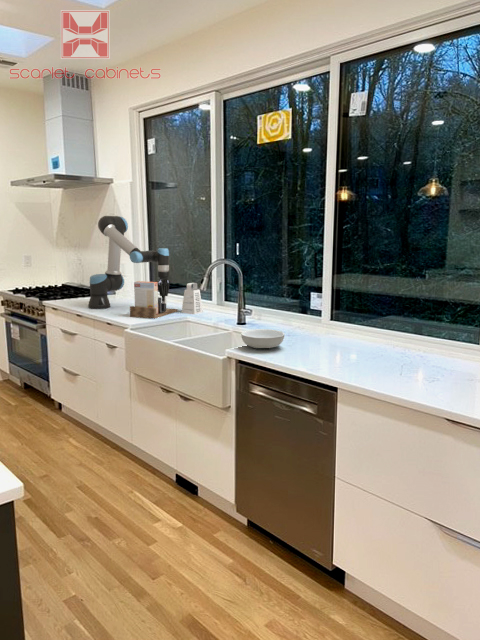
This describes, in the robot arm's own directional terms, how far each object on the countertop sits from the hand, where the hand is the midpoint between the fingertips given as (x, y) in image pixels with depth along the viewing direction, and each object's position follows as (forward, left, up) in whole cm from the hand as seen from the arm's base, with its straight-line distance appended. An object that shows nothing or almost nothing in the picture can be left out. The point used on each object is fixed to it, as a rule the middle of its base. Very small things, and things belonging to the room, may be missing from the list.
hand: (164, 305), depth 325 cm
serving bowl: (+94, -71, -4) cm, 118 cm away
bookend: (0, -13, -2) cm, 13 cm away
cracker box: (0, -22, -3) cm, 22 cm away
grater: (+20, +3, -4) cm, 21 cm away
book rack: (0, -12, -4) cm, 13 cm away
